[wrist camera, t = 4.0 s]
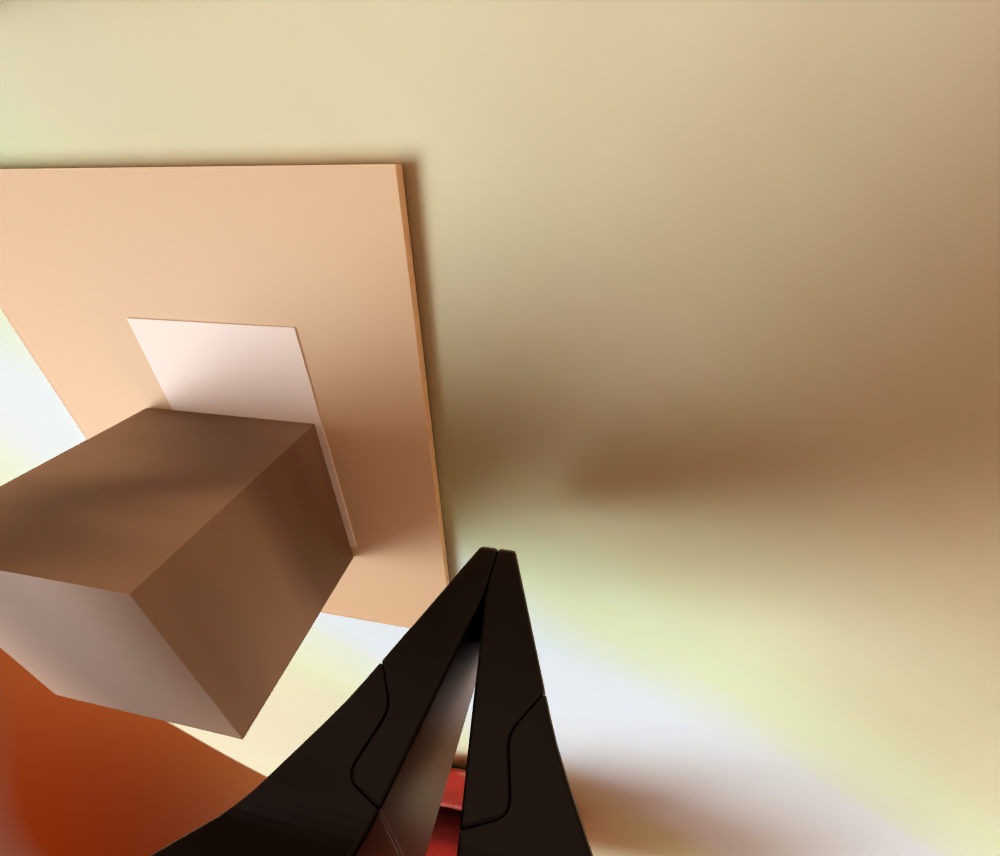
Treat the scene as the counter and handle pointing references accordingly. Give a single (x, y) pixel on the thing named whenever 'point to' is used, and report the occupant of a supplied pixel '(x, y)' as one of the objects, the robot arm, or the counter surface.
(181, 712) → the walnut block
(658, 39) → the counter surface
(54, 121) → the counter surface
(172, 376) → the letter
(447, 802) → the plant pot
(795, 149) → the counter surface
